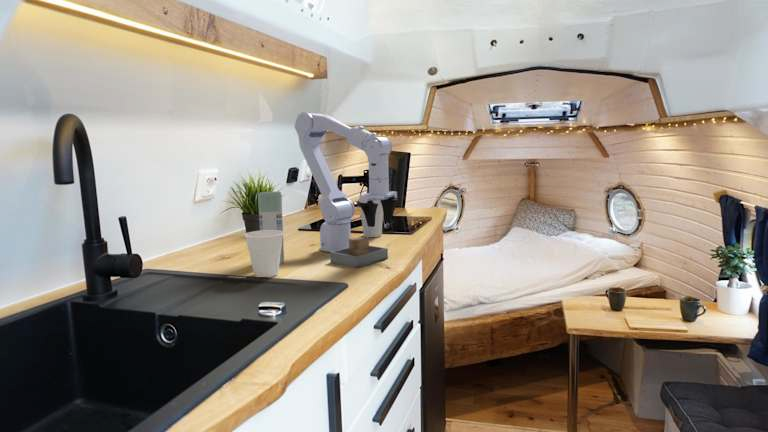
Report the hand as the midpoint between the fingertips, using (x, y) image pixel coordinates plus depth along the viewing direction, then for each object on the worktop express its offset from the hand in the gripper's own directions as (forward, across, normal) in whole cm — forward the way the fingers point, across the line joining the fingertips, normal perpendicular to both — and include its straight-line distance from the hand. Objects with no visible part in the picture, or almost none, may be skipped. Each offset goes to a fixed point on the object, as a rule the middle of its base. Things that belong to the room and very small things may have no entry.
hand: (379, 224), depth 151 cm
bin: (+9, -8, +1) cm, 12 cm away
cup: (+10, -34, +10) cm, 37 cm away
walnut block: (+9, -8, +1) cm, 12 cm away
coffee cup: (+10, +22, +22) cm, 33 cm away
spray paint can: (+10, -24, +20) cm, 33 cm away
